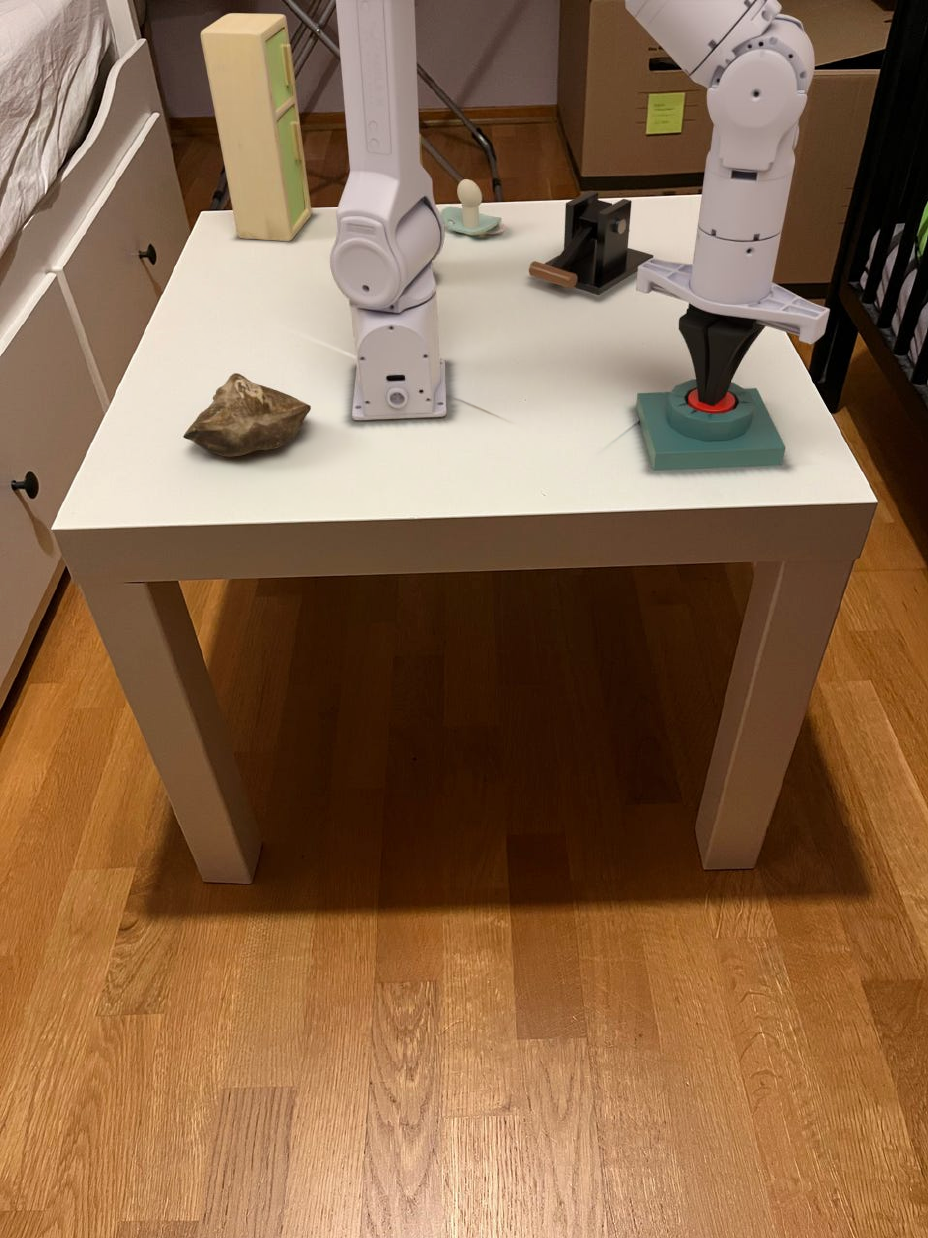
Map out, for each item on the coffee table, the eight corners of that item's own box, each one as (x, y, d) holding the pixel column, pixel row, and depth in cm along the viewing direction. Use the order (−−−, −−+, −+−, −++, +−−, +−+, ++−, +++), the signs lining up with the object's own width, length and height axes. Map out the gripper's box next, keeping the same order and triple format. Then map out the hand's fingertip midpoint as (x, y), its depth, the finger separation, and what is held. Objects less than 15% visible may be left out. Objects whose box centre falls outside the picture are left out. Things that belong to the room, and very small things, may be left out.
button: (736, 428, 77) (739, 409, 75) (690, 430, 77) (693, 411, 75) (726, 404, 79) (729, 385, 78) (681, 406, 79) (684, 387, 78)
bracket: (598, 299, 98) (603, 226, 93) (535, 279, 102) (536, 208, 97) (652, 265, 103) (660, 195, 98) (590, 247, 107) (594, 178, 102)
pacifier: (464, 218, 115) (434, 234, 111) (463, 162, 111) (432, 177, 107) (517, 231, 112) (488, 247, 108) (518, 173, 107) (488, 189, 104)
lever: (571, 295, 97) (566, 276, 95) (531, 282, 99) (526, 264, 97) (627, 225, 99) (624, 206, 97) (587, 214, 101) (582, 195, 99)
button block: (781, 466, 76) (790, 427, 74) (653, 471, 76) (658, 432, 74) (753, 405, 82) (760, 368, 80) (635, 410, 82) (639, 373, 80)
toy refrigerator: (297, 242, 111) (266, 31, 96) (236, 239, 112) (197, 30, 98) (319, 215, 116) (292, 13, 102) (261, 212, 118) (226, 12, 103)
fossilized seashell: (177, 454, 75) (308, 462, 77) (178, 366, 74) (311, 376, 76) (189, 451, 83) (309, 459, 84) (190, 371, 81) (311, 380, 83)
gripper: (865, 231, 66) (821, 406, 75) (679, 186, 73) (660, 351, 83) (817, 266, 62) (777, 447, 72) (627, 215, 69) (613, 385, 79)
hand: (712, 398), depth 77 cm, fingers closed, pressing on button
